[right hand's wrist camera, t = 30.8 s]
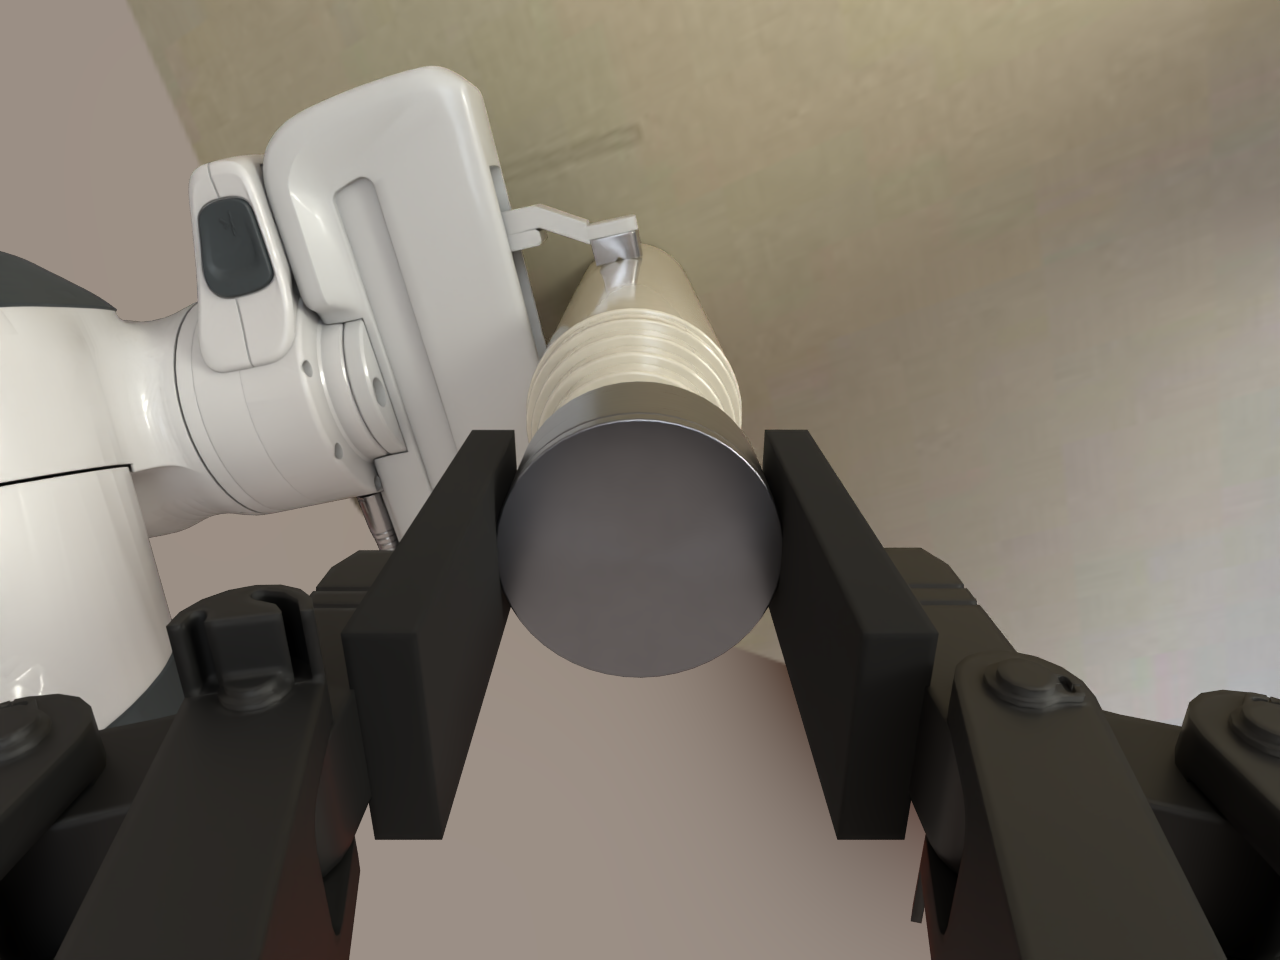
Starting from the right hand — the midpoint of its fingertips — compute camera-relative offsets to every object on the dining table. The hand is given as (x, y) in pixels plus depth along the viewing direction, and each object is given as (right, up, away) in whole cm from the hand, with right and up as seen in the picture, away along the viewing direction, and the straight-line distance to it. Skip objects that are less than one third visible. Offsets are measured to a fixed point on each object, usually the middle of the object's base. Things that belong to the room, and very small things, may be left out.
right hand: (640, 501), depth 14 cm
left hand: (+1, +7, +16) cm, 17 cm away
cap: (0, -1, -2) cm, 2 cm away
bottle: (0, +9, +22) cm, 23 cm away
